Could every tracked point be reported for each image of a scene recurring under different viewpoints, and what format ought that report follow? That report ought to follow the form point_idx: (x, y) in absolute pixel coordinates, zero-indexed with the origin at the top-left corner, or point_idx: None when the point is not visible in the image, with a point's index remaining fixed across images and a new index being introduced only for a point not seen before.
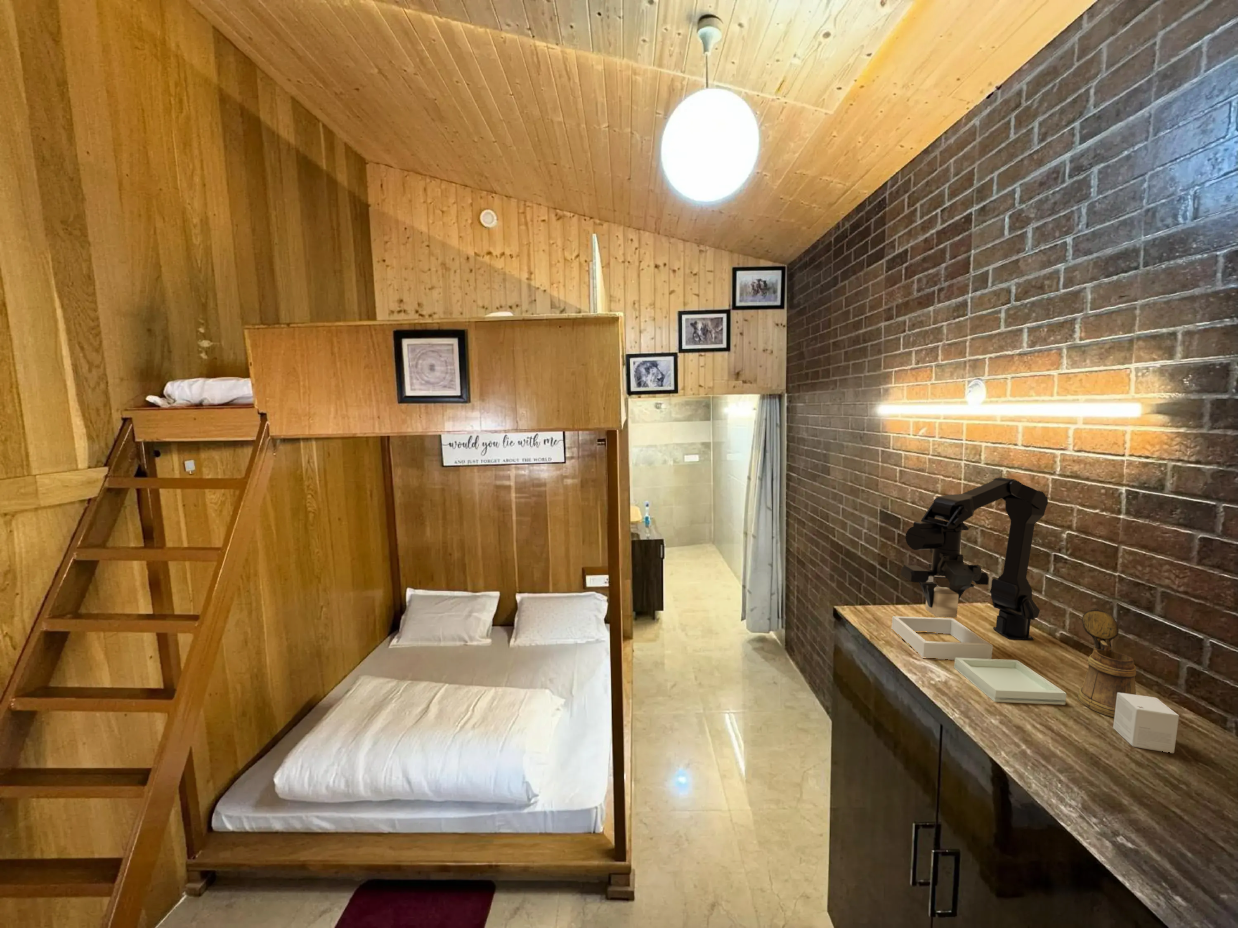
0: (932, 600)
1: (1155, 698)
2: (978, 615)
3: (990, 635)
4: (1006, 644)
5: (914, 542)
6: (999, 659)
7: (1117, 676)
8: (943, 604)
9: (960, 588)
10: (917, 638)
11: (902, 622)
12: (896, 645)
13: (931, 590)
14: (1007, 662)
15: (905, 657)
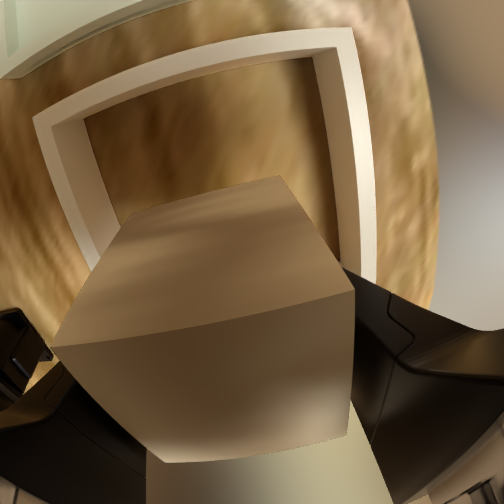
0: None
1: None
2: None
3: (54, 321)
4: (20, 274)
5: None
6: (48, 43)
7: None
8: (236, 228)
9: (22, 423)
10: (360, 85)
11: (365, 250)
12: (384, 139)
13: (419, 338)
14: (32, 42)
15: (382, 44)
